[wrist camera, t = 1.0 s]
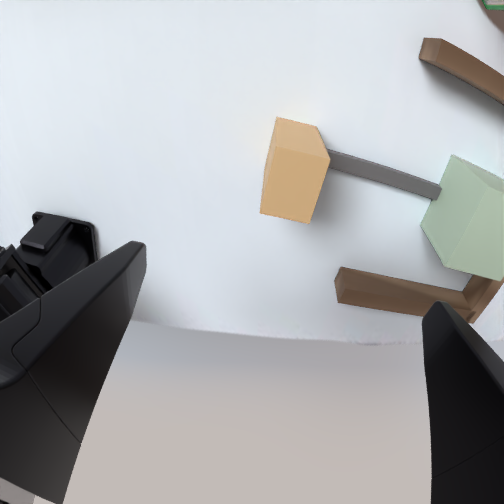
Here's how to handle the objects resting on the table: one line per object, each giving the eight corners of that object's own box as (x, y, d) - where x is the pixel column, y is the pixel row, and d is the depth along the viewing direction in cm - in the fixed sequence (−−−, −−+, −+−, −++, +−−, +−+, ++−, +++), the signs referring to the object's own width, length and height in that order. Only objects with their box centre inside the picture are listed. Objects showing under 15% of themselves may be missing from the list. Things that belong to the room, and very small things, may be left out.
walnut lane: (464, 305, 26) (473, 323, 24) (334, 280, 26) (337, 302, 24) (558, 126, 15) (577, 137, 13) (423, 37, 14) (441, 38, 12)
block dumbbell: (474, 242, 22) (506, 290, 17) (260, 184, 21) (254, 234, 16) (505, 180, 19) (548, 221, 14) (281, 97, 18) (282, 119, 13)
